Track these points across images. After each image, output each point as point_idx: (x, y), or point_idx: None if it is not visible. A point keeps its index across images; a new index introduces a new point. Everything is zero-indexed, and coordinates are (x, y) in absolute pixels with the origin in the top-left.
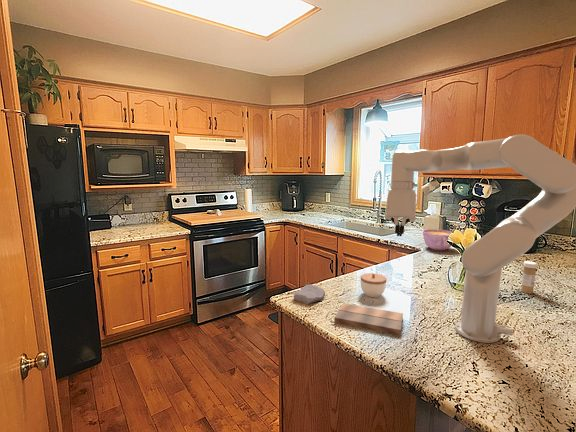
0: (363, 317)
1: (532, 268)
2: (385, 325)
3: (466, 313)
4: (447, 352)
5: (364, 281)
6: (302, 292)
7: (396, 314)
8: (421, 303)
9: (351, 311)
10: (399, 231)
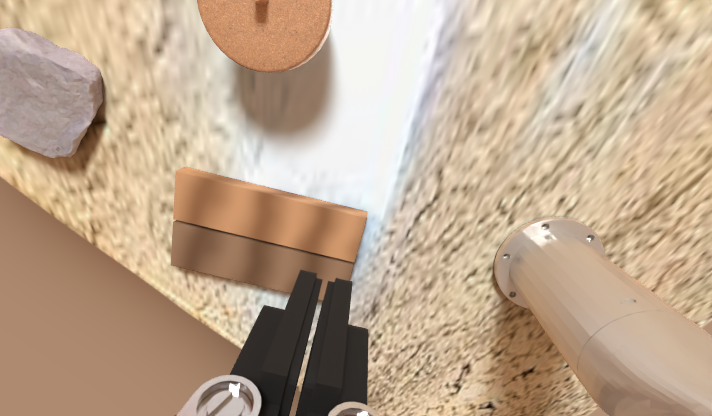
0: (249, 256)
1: None
2: None
3: (533, 311)
4: (429, 343)
5: (222, 50)
6: (10, 121)
7: (345, 227)
8: (466, 81)
9: (212, 225)
10: (317, 299)
